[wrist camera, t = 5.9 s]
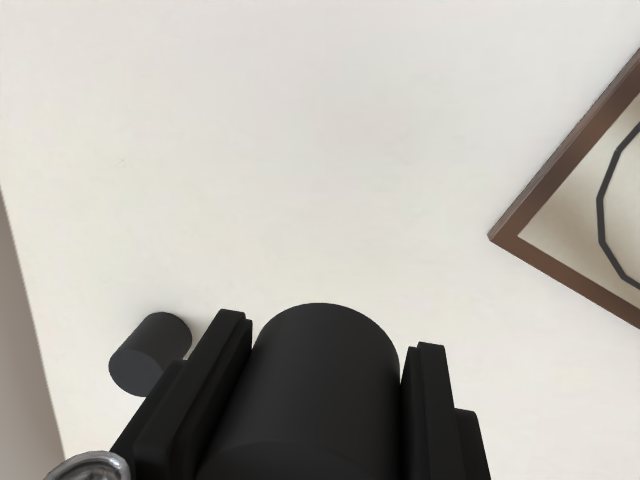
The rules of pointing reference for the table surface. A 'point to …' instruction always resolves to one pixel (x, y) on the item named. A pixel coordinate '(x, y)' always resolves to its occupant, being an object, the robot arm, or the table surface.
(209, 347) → the robot arm
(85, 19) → the table surface
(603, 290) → the picture frame
